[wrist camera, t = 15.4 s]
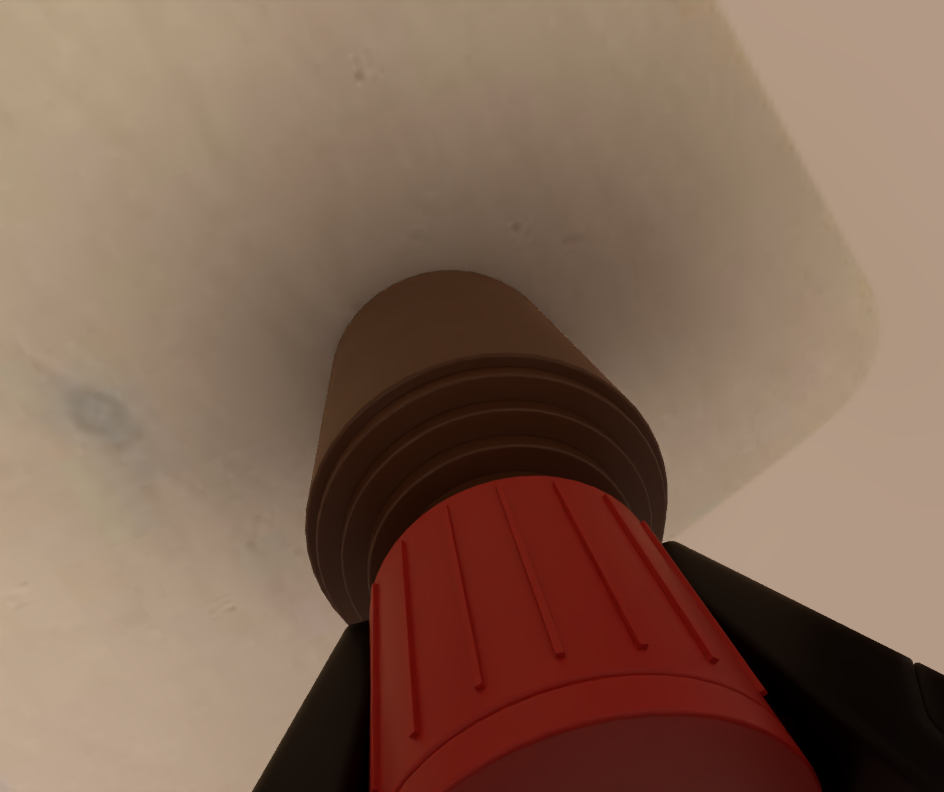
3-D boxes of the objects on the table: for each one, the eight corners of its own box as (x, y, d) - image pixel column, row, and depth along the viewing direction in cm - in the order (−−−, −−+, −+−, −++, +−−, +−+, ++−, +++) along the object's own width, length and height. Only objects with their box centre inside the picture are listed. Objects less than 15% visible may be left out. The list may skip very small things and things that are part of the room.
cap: (402, 743, 10) (418, 1072, 6) (332, 511, 8) (301, 788, 5) (666, 677, 10) (818, 956, 7) (652, 439, 8) (849, 650, 5)
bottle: (585, 442, 19) (892, 873, 8) (383, 517, 19) (398, 1059, 8) (525, 234, 16) (855, 431, 5) (290, 321, 16) (109, 708, 5)
